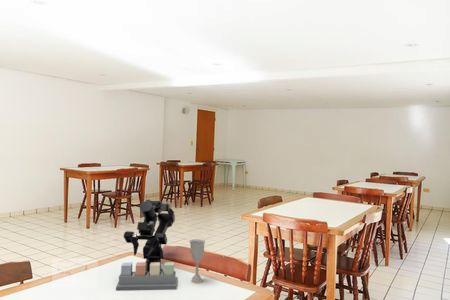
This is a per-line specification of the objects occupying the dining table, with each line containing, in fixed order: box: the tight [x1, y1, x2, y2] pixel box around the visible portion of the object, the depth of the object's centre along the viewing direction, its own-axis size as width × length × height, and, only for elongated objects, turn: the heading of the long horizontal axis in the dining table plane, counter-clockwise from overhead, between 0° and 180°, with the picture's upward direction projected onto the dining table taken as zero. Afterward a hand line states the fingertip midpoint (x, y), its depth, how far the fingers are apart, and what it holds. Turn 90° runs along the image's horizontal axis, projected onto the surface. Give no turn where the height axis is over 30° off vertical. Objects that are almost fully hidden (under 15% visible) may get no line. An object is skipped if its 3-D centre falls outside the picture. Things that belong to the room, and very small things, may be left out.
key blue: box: [120, 262, 133, 276], centre depth 159 cm, size 4×4×6 cm
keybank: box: [115, 270, 178, 291], centre depth 160 cm, size 25×10×5 cm, turn 95°
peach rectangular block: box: [135, 261, 147, 276], centre depth 159 cm, size 4×4×6 cm
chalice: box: [188, 238, 206, 284], centre depth 165 cm, size 7×7×18 cm
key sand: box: [150, 262, 160, 276], centre depth 160 cm, size 4×4×6 cm
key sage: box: [163, 261, 175, 276], centre depth 160 cm, size 4×4×6 cm
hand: (141, 255), depth 159 cm, fingers open, 5 cm apart
